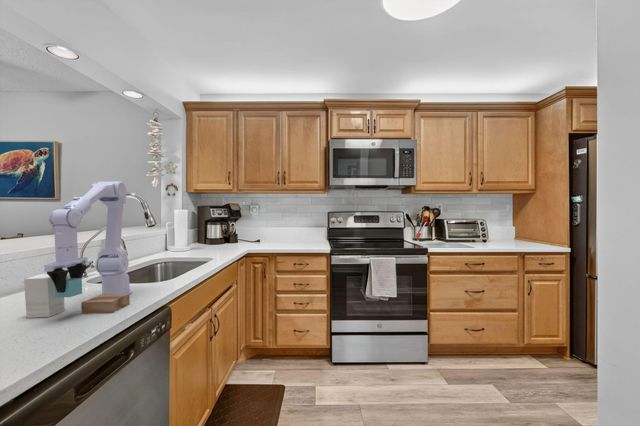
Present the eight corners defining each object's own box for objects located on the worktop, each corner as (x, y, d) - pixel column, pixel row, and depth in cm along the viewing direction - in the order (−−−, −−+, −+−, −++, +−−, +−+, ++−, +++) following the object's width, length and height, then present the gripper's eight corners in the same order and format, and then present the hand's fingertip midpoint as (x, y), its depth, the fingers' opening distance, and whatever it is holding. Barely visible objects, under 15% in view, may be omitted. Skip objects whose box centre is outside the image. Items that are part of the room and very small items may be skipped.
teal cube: (67, 293, 113) (67, 277, 113) (82, 293, 112) (81, 277, 112) (54, 297, 108) (54, 281, 108) (69, 297, 107) (69, 281, 107)
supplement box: (65, 310, 117) (63, 272, 116) (49, 317, 109) (47, 277, 109) (43, 311, 117) (41, 273, 116) (25, 318, 109) (23, 278, 109)
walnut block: (101, 305, 123) (101, 294, 123) (129, 305, 122) (129, 293, 122) (81, 314, 113) (81, 302, 113) (112, 314, 112) (111, 301, 112)
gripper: (58, 250, 102) (61, 296, 102) (95, 244, 116) (97, 284, 117) (36, 250, 103) (39, 296, 103) (75, 244, 117) (77, 284, 117)
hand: (68, 290), depth 110 cm, fingers closed on teal cube, 5 cm apart
